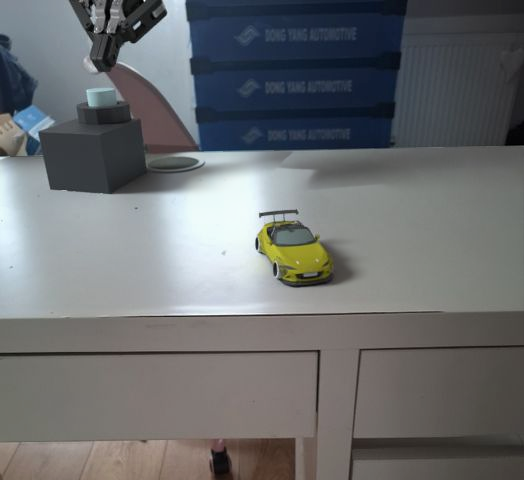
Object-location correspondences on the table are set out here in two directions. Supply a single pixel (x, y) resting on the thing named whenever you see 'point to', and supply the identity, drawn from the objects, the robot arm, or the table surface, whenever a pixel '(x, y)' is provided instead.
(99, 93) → the pale turquoise short cylinder
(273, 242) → the sports car
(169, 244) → the table surface
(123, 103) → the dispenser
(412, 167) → the table surface
